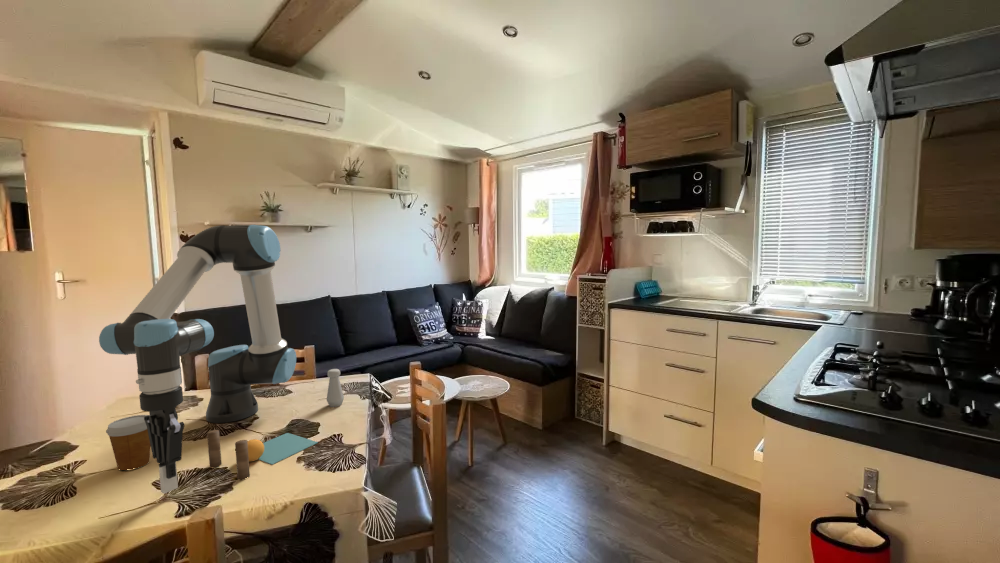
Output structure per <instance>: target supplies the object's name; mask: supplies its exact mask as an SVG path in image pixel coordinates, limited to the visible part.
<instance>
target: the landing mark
mask: <svg viewBox="0 0 1000 563" xmlns="http://www.w3.org/2000/svg"><path fill="white" fill-rule="evenodd" d="M262 443H263V444H264V452H263V454H262V456H261V457H260V458H259V459H257V460H258V461H261V462H264V463H266V464H269V465H271V466H272V465H275V464H276V463H279V462H281V461H283V460H285V459H288V458H290V457H292V456H294V455H296V454H298V453H300V452H302V451H304V450H306V449H309V448H310V447H312V446H314V445H317V444H318V443H319V441H315V440H312V439H309V438H306V437H302V436H299V435H296V434H292V433H289V432H286V433H284V434H282V435H279V436H276V437H274V438H272V439H269V440H267V441H265V442H262Z"/></svg>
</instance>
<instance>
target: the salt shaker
mask: <svg viewBox="0 0 1000 563" xmlns="http://www.w3.org/2000/svg"><path fill="white" fill-rule="evenodd" d="M340 376H341V370H340V369H338V368H332V369H329V370H328V371H327V377H328V378H329V380H328V381H329V382H328V386H327V387H328V388H327V394H326V402H327V404H328V406H329V407H330V408H337V407H341V406H342V404H343V402H344V398H345V397H344V392H343V388H342V384H341V379H340Z"/></svg>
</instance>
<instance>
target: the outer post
mask: <svg viewBox="0 0 1000 563" xmlns="http://www.w3.org/2000/svg"><path fill="white" fill-rule="evenodd" d="M247 441H248V440H247V439H239V440H237V441H236V442H235V443H234V447H235V462H236V463H235V464H236V475H237V476H236V477H237V480H238V479H244V480H246V479H245V478H247V477H248V478H250V475H251V474H250V461H249V457H248V442H247ZM248 478H247V479H248Z"/></svg>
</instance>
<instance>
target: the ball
mask: <svg viewBox="0 0 1000 563" xmlns="http://www.w3.org/2000/svg"><path fill="white" fill-rule="evenodd" d="M247 442H248V457H249V462H254V461H257V460H258V459H259V458H260V457H261V456H262V454H263V452H264V444H263V443H264V442H262V441H261V440H260V439H256V438H255V439H254V438H253V439H252V438H251V439H250V440H247Z"/></svg>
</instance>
